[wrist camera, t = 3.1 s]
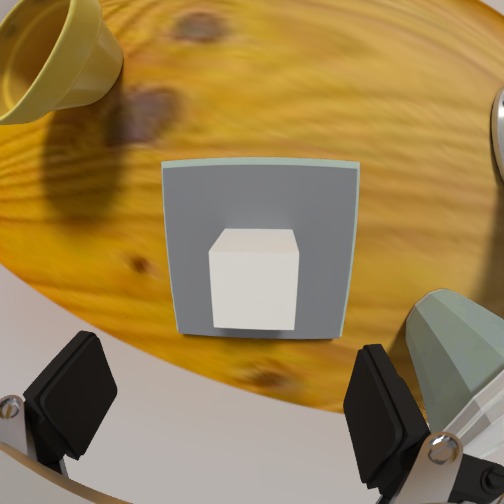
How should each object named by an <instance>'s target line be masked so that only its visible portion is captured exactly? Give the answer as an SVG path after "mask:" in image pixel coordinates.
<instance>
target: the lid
mask: <svg viewBox="0 0 504 504" xmlns="http://www.w3.org/2000/svg"><path fill="white" fill-rule="evenodd" d="M163 188H164V206H165V221H166V234H167V245H168V255H169V265H170V274H171V282H172V290H173V297H174V305H175V312H176V318H177V325H178V331H179V333H183V334H194V335H207V336H221V337H239V338H266V339H331V338H339V335H340V329H341V324H342V318H343V312H344V306H345V299H346V293H347V286H348V279H349V271H350V263H351V254H352V244H353V234H354V222H355V208H356V190H357V169H353V168H340V167H325V166H304V165H209V166H188V167H173V168H163Z"/></svg>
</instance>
